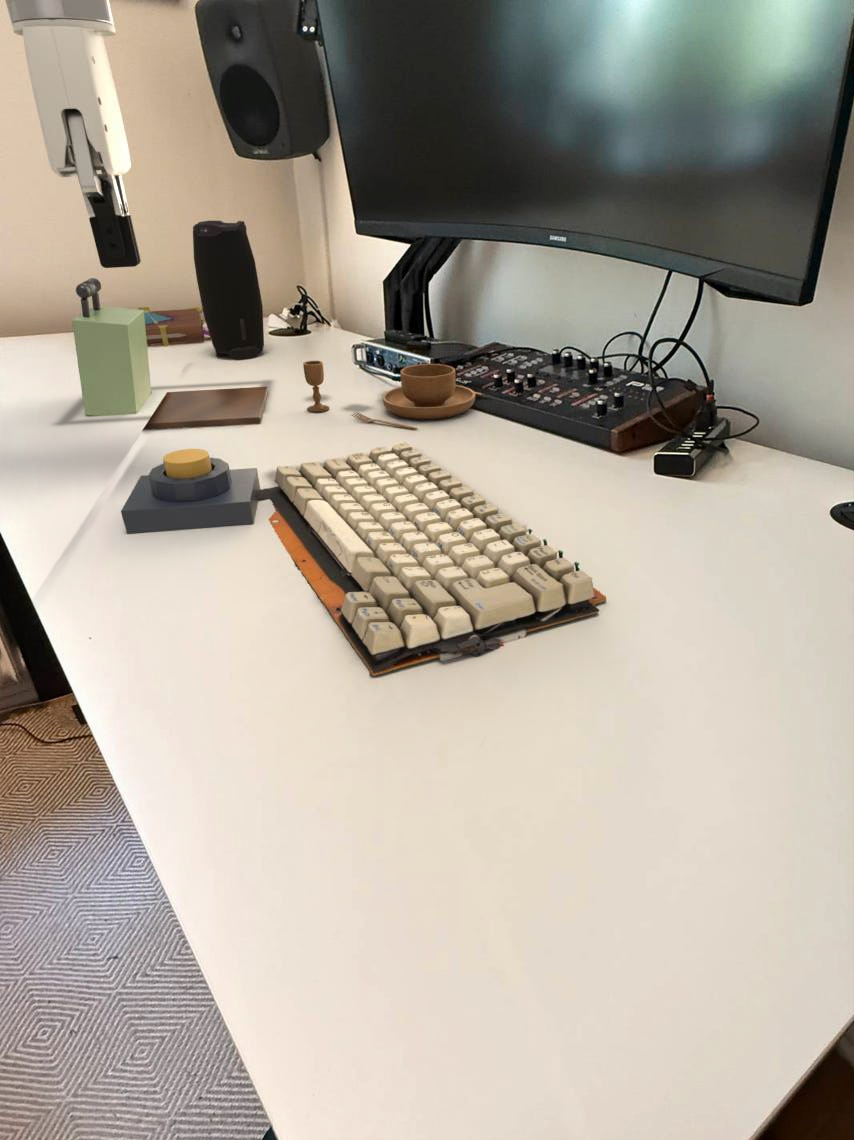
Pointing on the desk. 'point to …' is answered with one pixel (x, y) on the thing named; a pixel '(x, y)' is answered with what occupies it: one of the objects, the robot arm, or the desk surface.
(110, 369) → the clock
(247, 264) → the portable speaker
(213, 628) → the desk surface
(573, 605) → the mechanical keyboard
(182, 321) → the book
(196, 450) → the bell button
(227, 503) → the grey mounting base
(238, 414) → the brown wooden board
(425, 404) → the place setting
